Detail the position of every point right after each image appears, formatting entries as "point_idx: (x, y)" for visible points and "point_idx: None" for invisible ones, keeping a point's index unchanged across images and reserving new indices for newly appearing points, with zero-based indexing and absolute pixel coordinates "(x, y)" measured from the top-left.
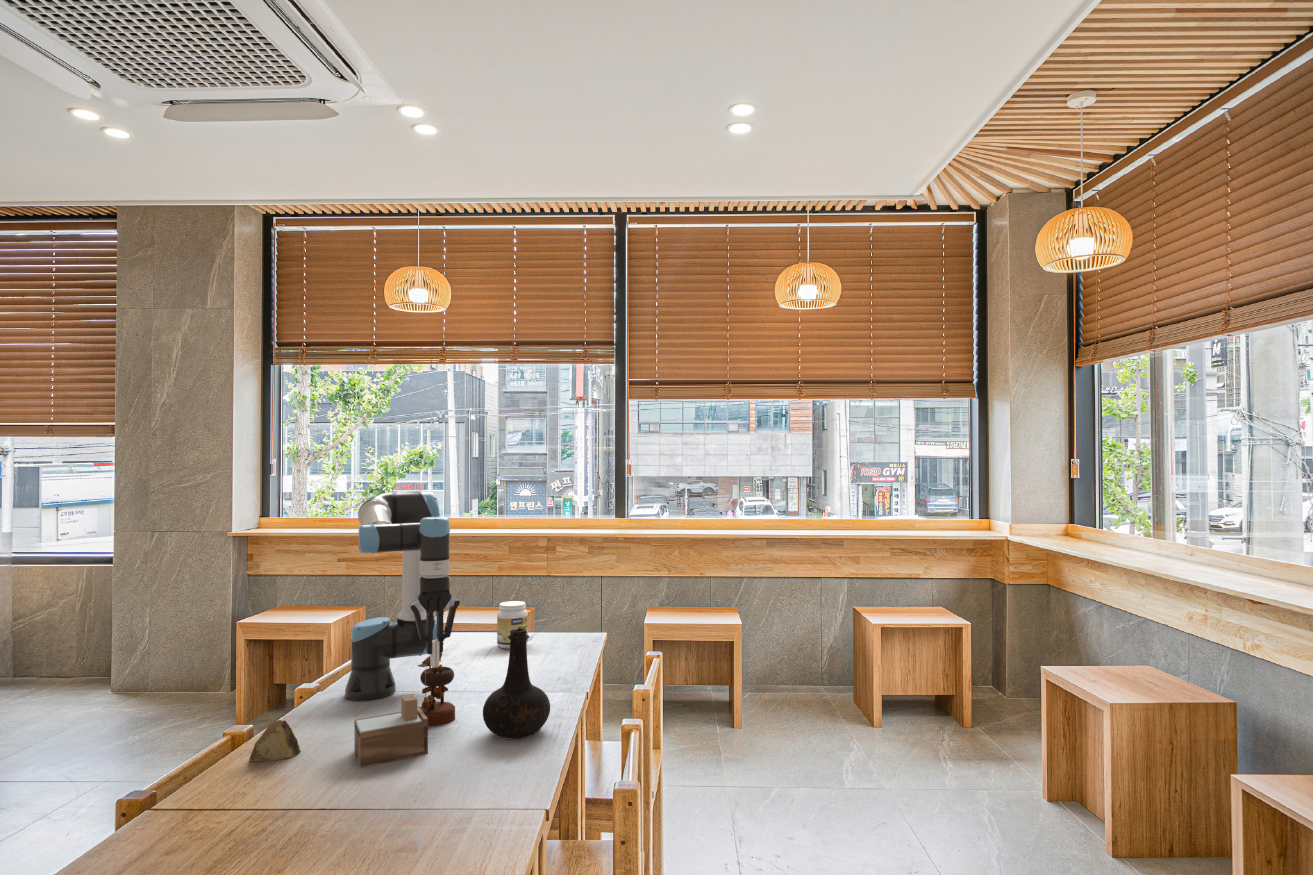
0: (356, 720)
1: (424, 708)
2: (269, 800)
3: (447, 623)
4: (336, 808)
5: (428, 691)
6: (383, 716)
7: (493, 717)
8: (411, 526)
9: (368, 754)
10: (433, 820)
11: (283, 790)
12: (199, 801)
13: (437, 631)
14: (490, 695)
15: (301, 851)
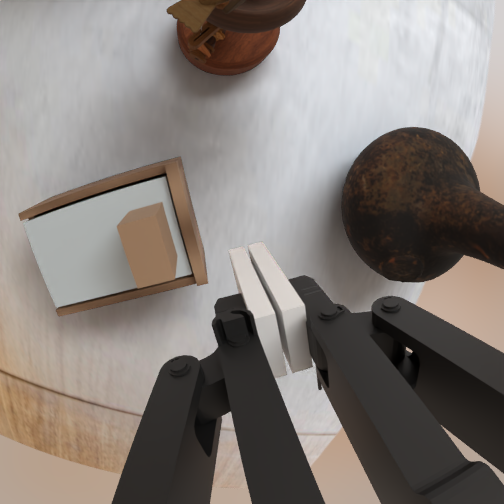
0: (23, 219)
1: (195, 59)
2: (3, 355)
3: (439, 398)
4: (96, 403)
5: (209, 37)
6: (81, 207)
7: (364, 258)
8: None
9: None
10: (223, 446)
11: (3, 331)
12: None
13: (331, 371)
14: (389, 203)
15: (101, 459)
